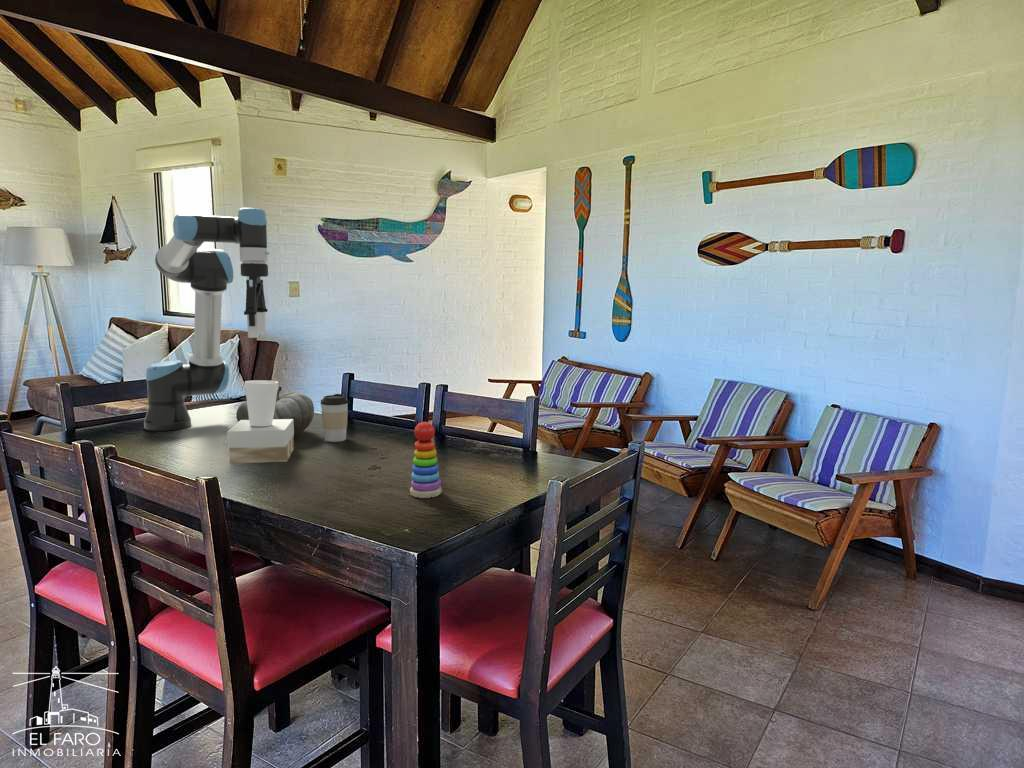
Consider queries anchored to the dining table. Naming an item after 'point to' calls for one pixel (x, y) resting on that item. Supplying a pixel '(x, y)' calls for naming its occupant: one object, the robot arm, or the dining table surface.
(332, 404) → the coffee cup
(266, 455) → the birch base block
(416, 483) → the stacking toy
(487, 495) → the dining table surface
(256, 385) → the foam cup
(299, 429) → the gourd
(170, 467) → the dining table surface
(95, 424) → the dining table surface
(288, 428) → the white square block
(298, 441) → the dining table surface
